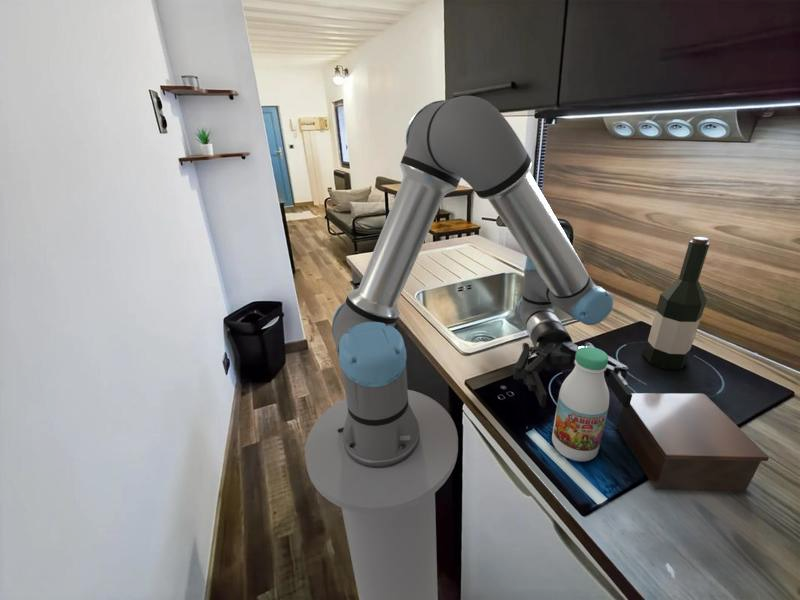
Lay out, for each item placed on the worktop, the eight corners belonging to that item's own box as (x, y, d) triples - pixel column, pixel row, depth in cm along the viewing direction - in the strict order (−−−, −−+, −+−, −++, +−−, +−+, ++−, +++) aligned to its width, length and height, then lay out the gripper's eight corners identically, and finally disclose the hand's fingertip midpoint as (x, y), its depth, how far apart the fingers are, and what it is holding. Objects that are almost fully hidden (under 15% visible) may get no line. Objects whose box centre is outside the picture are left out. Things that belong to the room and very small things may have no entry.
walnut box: (653, 491, 57) (666, 455, 54) (613, 425, 70) (622, 393, 66) (750, 494, 56) (769, 457, 52) (691, 427, 68) (704, 393, 65)
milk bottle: (544, 432, 69) (557, 343, 61) (582, 427, 70) (601, 338, 61) (564, 465, 62) (582, 370, 54) (607, 460, 63) (631, 365, 54)
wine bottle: (635, 353, 90) (666, 235, 78) (662, 347, 92) (697, 231, 79) (665, 372, 83) (704, 246, 70) (694, 365, 85) (738, 241, 72)
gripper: (604, 349, 80) (658, 418, 61) (489, 350, 83) (508, 417, 64) (610, 319, 77) (670, 383, 58) (491, 321, 80) (511, 383, 60)
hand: (585, 401), depth 61 cm, fingers open, 13 cm apart
